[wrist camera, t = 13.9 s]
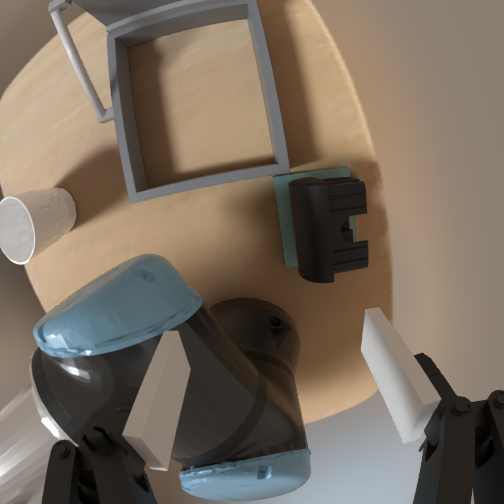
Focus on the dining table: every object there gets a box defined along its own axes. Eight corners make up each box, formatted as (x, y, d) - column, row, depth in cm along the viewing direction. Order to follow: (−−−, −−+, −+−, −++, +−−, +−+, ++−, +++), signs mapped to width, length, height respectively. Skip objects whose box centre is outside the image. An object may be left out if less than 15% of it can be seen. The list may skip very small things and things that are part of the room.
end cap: (283, 179, 30) (293, 186, 24) (343, 172, 30) (367, 177, 23) (293, 262, 33) (304, 288, 27) (349, 253, 33) (370, 276, 27)
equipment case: (284, 170, 31) (351, 198, 11) (128, 201, 31) (11, 265, 12) (251, 2, 23) (259, -114, 4) (106, 40, 24) (7, -20, 4)
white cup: (49, 243, 33) (7, 269, 23) (35, 193, 30) (-12, 208, 21) (87, 230, 32) (44, 256, 23) (71, 174, 30) (23, 185, 20)
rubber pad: (353, 253, 34) (356, 256, 33) (285, 265, 35) (286, 268, 34) (346, 167, 31) (349, 167, 30) (272, 176, 31) (273, 177, 30)
